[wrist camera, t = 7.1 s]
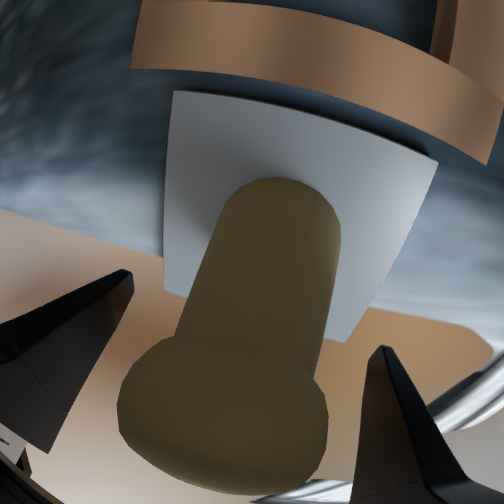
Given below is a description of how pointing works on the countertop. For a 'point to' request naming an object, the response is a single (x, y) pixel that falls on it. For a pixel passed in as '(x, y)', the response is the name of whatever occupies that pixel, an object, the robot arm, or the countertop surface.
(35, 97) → the countertop surface
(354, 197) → the mat
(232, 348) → the cork
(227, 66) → the pocket frame
